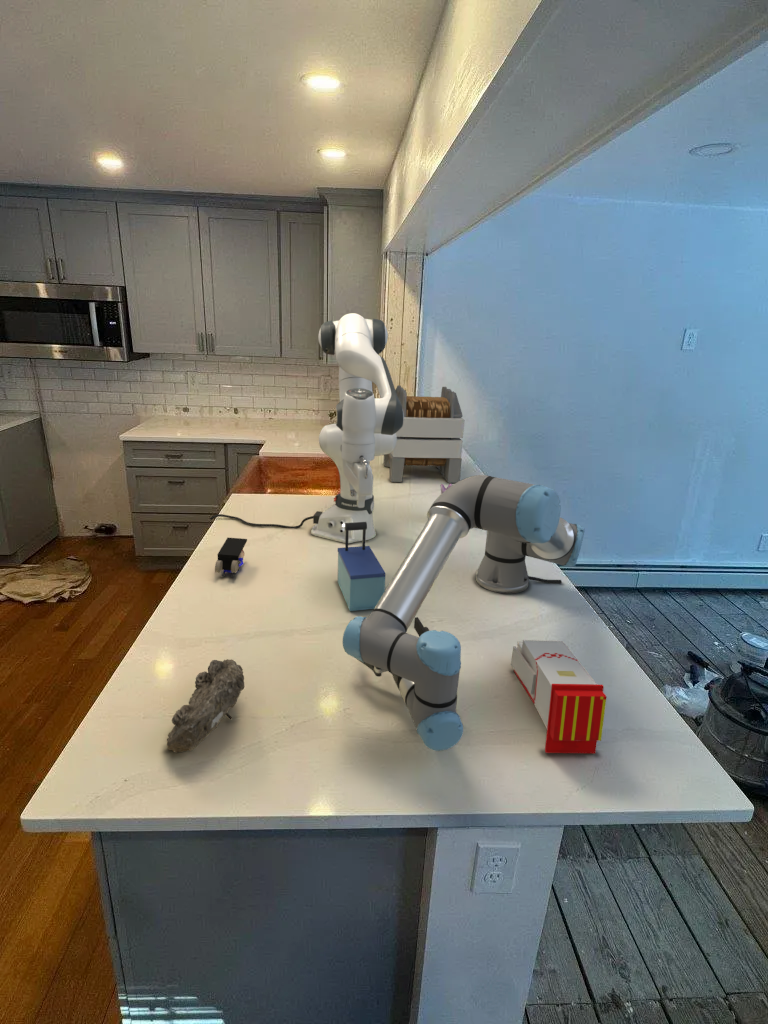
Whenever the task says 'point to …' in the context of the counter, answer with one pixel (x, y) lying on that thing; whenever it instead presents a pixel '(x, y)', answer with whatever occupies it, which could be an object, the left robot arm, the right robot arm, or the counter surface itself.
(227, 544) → the figurine character
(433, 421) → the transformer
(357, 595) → the chest
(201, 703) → the fossil
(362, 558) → the lid
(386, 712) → the counter surface
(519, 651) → the toy
